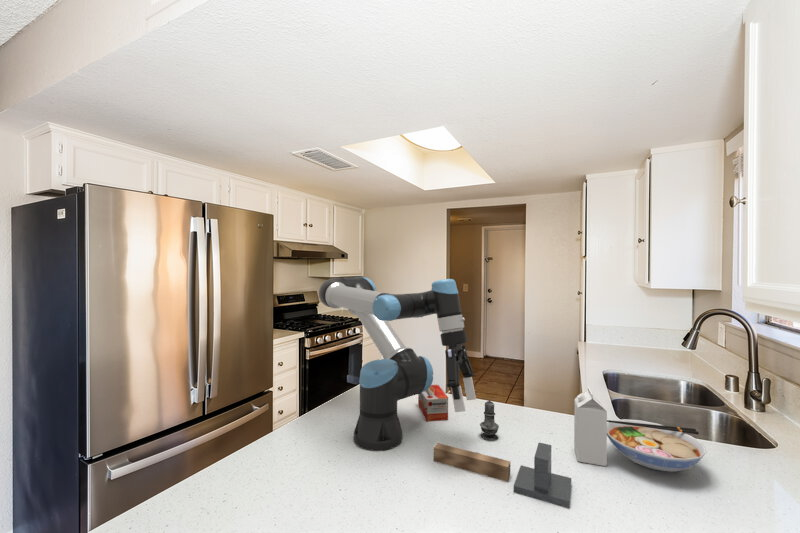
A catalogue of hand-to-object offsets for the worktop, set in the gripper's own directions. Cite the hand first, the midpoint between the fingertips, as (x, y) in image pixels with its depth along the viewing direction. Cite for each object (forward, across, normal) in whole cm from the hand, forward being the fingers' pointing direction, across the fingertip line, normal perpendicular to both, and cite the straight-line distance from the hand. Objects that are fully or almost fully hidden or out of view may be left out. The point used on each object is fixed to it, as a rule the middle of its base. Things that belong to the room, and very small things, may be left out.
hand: (466, 405), depth 103 cm
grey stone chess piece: (+13, +14, -1) cm, 20 cm away
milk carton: (+20, +14, -29) cm, 37 cm away
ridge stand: (+19, -7, -17) cm, 26 cm away
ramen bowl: (+23, +18, -44) cm, 52 cm away
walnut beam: (+15, -5, 0) cm, 16 cm away
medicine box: (+7, +25, +20) cm, 33 cm away
